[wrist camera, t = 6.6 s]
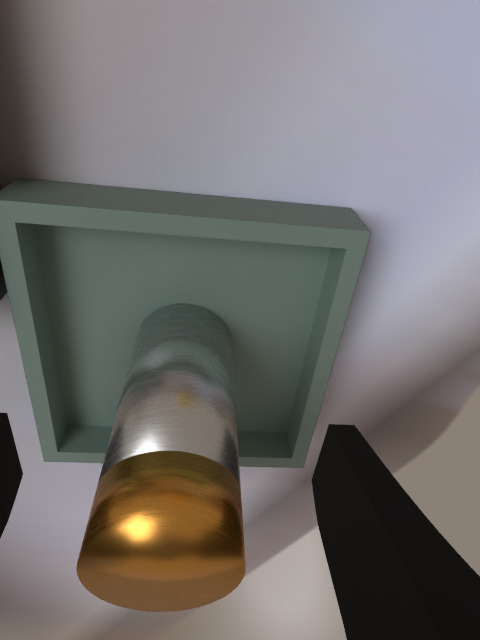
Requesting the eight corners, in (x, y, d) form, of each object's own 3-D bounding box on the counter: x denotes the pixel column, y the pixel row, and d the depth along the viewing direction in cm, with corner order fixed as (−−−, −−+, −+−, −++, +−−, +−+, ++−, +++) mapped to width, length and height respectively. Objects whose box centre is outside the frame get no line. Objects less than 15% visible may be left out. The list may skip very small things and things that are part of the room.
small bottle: (240, 311, 13) (262, 532, 7) (221, 384, 15) (227, 614, 9) (140, 295, 13) (77, 518, 7) (132, 373, 14) (75, 608, 8)
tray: (295, 430, 17) (303, 467, 15) (59, 421, 16) (43, 461, 14) (350, 208, 12) (371, 231, 11) (18, 177, 11) (-13, 199, 10)
